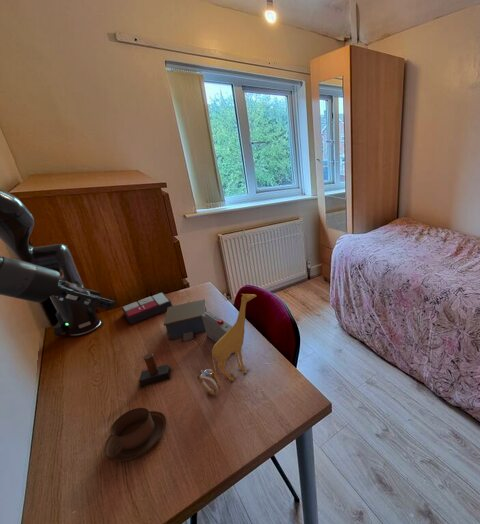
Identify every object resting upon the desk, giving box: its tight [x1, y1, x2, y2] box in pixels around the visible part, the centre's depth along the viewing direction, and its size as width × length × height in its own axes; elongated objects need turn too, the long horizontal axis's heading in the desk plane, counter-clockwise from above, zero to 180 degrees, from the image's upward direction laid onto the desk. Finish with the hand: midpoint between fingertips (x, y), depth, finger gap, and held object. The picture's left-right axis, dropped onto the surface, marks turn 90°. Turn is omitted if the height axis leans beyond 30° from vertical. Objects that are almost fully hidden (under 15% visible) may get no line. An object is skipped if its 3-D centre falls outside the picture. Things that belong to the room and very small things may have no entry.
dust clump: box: [182, 331, 194, 342], centre depth 101 cm, size 3×3×1 cm
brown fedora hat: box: [103, 407, 167, 463], centre depth 66 cm, size 12×12×6 cm
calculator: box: [121, 292, 173, 325], centre depth 116 cm, size 11×4×15 cm
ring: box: [196, 368, 221, 396], centre depth 78 cm, size 7×3×8 cm, turn 60°
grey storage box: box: [163, 299, 208, 340], centre depth 106 cm, size 13×12×7 cm
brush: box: [138, 353, 172, 388], centre depth 83 cm, size 4×7×8 cm, turn 115°
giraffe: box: [211, 293, 257, 382], centre depth 82 cm, size 16×4×25 cm, turn 141°
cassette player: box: [201, 310, 235, 355], centre depth 97 cm, size 16×3×10 cm, turn 53°
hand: (105, 301), depth 74 cm, fingers open, 8 cm apart
